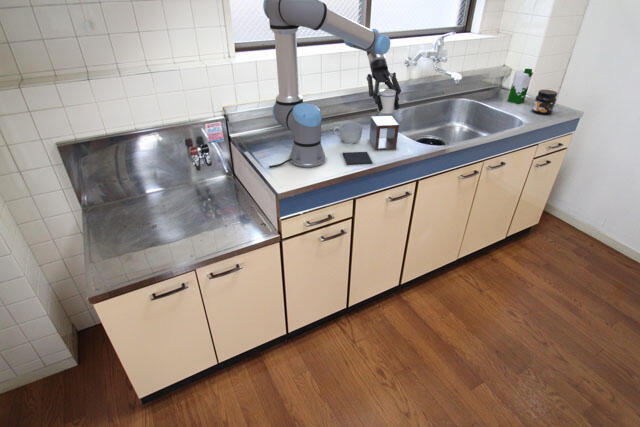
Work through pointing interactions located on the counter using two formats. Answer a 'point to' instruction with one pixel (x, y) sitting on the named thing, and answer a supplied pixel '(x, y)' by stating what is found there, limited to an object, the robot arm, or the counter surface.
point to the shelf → (392, 133)
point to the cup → (387, 100)
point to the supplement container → (544, 102)
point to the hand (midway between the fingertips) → (389, 109)
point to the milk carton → (520, 86)
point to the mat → (357, 158)
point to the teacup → (349, 132)
